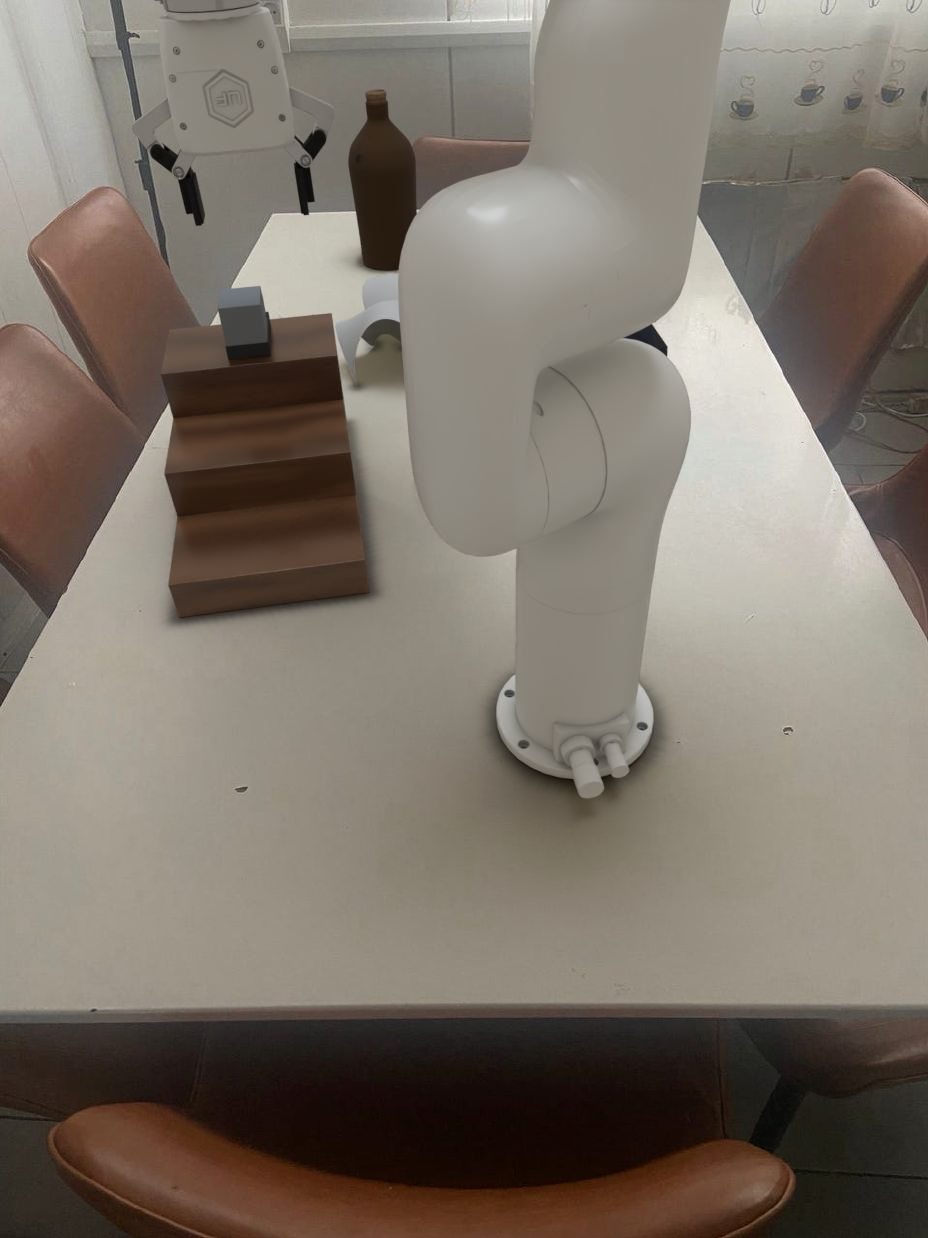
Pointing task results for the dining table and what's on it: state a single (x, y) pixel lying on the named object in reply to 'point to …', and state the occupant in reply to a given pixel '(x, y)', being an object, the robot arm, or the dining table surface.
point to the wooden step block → (260, 471)
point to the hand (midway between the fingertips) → (253, 215)
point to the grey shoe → (244, 323)
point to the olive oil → (382, 185)
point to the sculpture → (371, 317)
